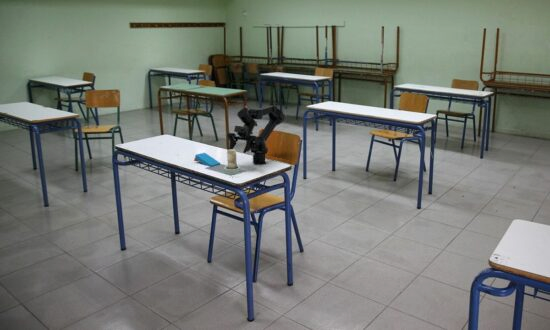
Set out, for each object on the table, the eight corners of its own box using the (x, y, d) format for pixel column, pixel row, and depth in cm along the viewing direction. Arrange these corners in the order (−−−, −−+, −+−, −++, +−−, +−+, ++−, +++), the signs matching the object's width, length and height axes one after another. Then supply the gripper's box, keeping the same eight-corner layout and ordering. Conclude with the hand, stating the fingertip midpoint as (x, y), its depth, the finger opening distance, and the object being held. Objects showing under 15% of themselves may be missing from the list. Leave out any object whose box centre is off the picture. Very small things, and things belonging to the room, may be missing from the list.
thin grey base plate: (204, 170, 264) (204, 163, 263) (220, 165, 273) (220, 159, 272) (231, 177, 250) (230, 171, 249) (247, 173, 258) (247, 166, 257)
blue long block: (218, 173, 274) (199, 160, 284) (220, 163, 271) (200, 149, 281) (209, 176, 269) (190, 162, 279) (211, 165, 266) (191, 152, 276)
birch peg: (232, 170, 259) (232, 148, 256) (238, 171, 256) (238, 150, 253) (225, 172, 256) (224, 150, 252) (231, 173, 253) (231, 152, 249)
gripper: (227, 118, 262) (216, 141, 256) (256, 121, 252) (244, 145, 246) (236, 129, 270) (225, 152, 264) (264, 133, 261) (253, 156, 255)
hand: (236, 151), depth 257 cm, fingers open, 9 cm apart
